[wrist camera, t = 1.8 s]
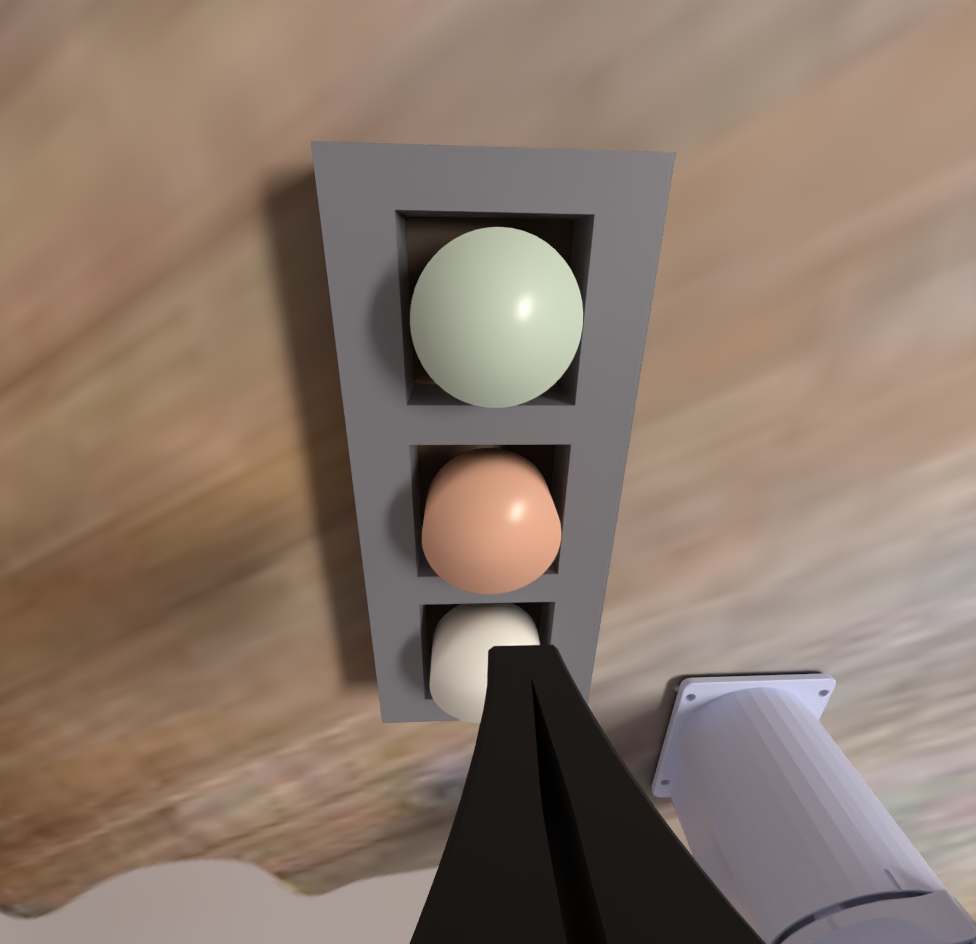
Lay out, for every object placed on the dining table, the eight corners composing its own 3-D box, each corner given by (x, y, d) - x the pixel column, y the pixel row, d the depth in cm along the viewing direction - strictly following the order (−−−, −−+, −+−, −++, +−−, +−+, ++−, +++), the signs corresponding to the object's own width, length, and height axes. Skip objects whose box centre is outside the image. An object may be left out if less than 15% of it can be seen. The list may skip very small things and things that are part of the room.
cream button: (534, 675, 20) (542, 721, 18) (434, 678, 20) (431, 725, 18) (541, 597, 19) (550, 639, 17) (430, 600, 18) (426, 642, 16)
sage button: (559, 387, 15) (574, 407, 13) (421, 386, 15) (414, 407, 13) (572, 232, 13) (592, 228, 11) (413, 228, 13) (404, 224, 11)
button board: (573, 670, 23) (585, 715, 21) (390, 675, 22) (382, 723, 20) (641, 168, 14) (675, 152, 12) (336, 159, 13) (310, 140, 11)
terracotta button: (544, 554, 18) (555, 592, 16) (428, 556, 17) (424, 595, 15) (553, 447, 16) (567, 476, 14) (424, 448, 15) (418, 477, 13)
